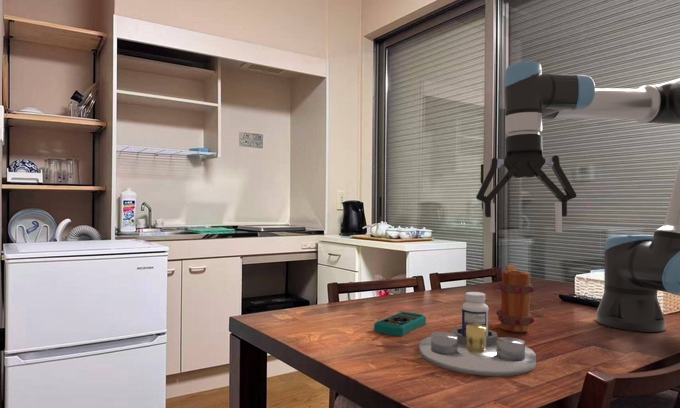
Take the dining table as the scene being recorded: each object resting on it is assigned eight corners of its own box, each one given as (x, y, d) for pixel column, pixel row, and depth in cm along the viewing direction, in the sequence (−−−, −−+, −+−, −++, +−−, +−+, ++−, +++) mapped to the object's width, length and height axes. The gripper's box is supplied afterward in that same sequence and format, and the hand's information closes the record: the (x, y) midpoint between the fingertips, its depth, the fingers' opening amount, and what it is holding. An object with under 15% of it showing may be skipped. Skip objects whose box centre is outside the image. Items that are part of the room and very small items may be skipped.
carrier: (526, 345, 100) (527, 317, 100) (546, 382, 79) (546, 347, 79) (422, 336, 105) (423, 310, 105) (415, 368, 84) (415, 336, 84)
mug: (536, 337, 107) (538, 271, 107) (499, 334, 109) (500, 269, 109) (524, 321, 121) (525, 264, 122) (492, 319, 123) (493, 262, 123)
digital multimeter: (372, 333, 109) (372, 321, 109) (400, 321, 121) (400, 310, 121) (400, 339, 105) (400, 326, 105) (426, 325, 117) (427, 314, 117)
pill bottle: (468, 334, 102) (468, 290, 102) (492, 339, 99) (492, 293, 99) (457, 339, 98) (458, 293, 98) (481, 345, 95) (482, 296, 95)
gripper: (581, 134, 103) (582, 230, 103) (464, 140, 108) (465, 231, 108) (591, 129, 95) (592, 233, 95) (465, 135, 101) (466, 233, 101)
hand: (525, 232), depth 102 cm, fingers open, 13 cm apart
